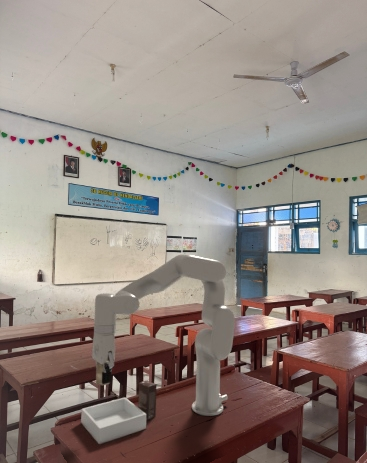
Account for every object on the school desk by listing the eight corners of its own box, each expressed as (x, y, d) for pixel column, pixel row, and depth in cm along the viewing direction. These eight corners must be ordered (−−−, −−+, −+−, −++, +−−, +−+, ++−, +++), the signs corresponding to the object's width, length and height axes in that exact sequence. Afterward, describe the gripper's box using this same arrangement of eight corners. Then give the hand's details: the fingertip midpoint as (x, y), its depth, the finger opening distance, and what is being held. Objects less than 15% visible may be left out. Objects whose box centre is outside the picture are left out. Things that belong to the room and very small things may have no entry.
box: (156, 416, 131) (157, 384, 132) (147, 420, 128) (148, 387, 129) (146, 410, 136) (146, 379, 136) (137, 414, 132) (138, 382, 133)
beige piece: (93, 381, 122) (94, 361, 123) (106, 378, 125) (107, 359, 126) (99, 386, 118) (99, 365, 119) (112, 383, 121) (113, 363, 122)
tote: (124, 410, 135) (125, 397, 136) (146, 428, 122) (146, 414, 122) (81, 422, 125) (81, 408, 125) (99, 444, 112) (99, 428, 112)
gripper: (86, 325, 127) (84, 375, 126) (104, 335, 114) (102, 391, 113) (105, 323, 132) (103, 371, 131) (125, 332, 118) (123, 386, 117)
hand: (103, 379), depth 122 cm, fingers closed on beige piece, 5 cm apart
